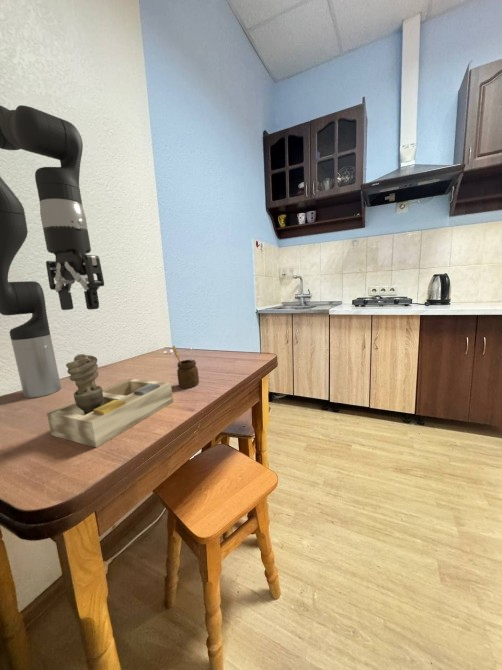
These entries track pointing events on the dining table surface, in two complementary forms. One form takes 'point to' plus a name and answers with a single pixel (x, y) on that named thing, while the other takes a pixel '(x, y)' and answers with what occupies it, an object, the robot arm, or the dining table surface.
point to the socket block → (110, 412)
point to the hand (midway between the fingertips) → (80, 309)
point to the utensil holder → (187, 372)
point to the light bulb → (85, 382)
